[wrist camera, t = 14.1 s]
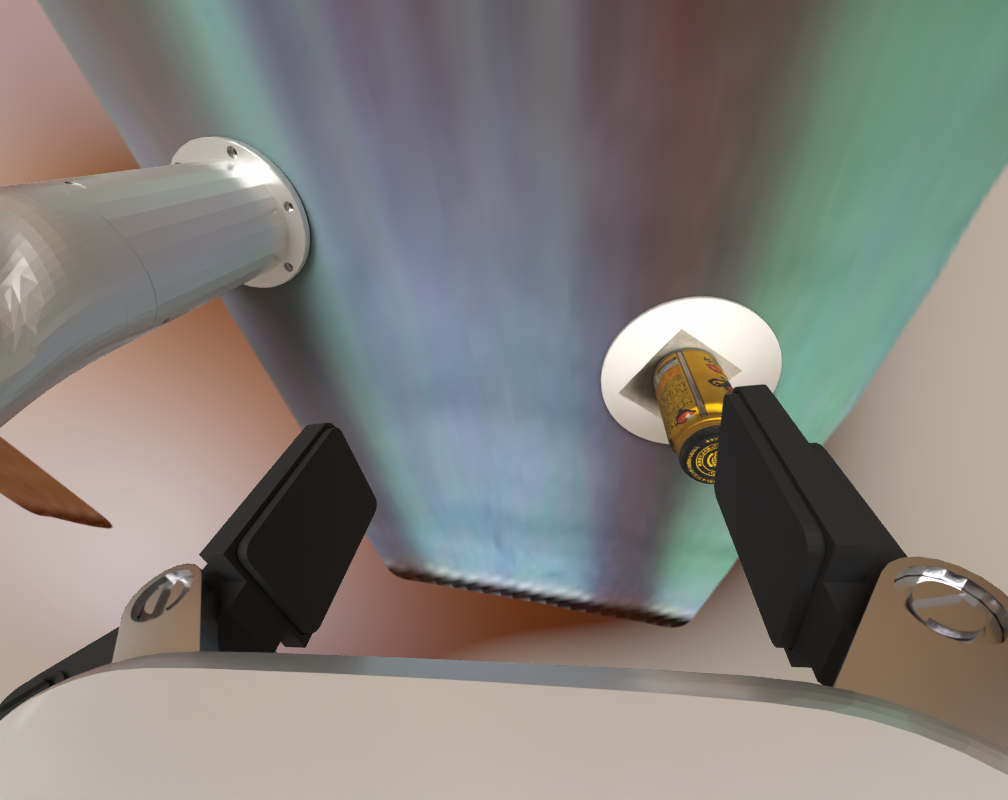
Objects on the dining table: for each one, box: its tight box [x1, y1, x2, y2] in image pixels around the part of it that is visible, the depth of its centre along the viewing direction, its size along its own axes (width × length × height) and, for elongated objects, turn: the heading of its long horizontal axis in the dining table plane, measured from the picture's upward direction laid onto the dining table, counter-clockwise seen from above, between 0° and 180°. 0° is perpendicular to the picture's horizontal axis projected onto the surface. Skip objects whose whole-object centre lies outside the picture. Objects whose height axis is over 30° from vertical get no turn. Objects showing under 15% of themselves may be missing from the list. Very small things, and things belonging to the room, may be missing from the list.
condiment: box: [619, 328, 742, 484], centre depth 35 cm, size 7×8×12 cm
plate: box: [601, 296, 782, 444], centre depth 41 cm, size 16×16×1 cm
